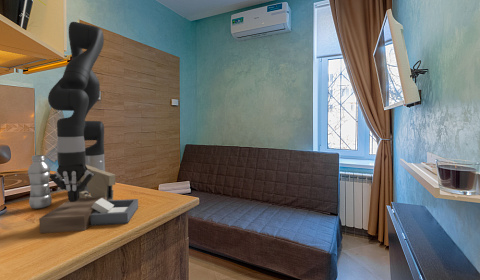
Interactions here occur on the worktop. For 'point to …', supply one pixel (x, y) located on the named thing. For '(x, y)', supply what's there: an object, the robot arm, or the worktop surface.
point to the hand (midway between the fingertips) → (73, 201)
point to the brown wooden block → (69, 216)
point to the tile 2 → (118, 209)
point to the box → (115, 213)
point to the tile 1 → (102, 206)
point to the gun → (98, 184)
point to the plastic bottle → (39, 183)
